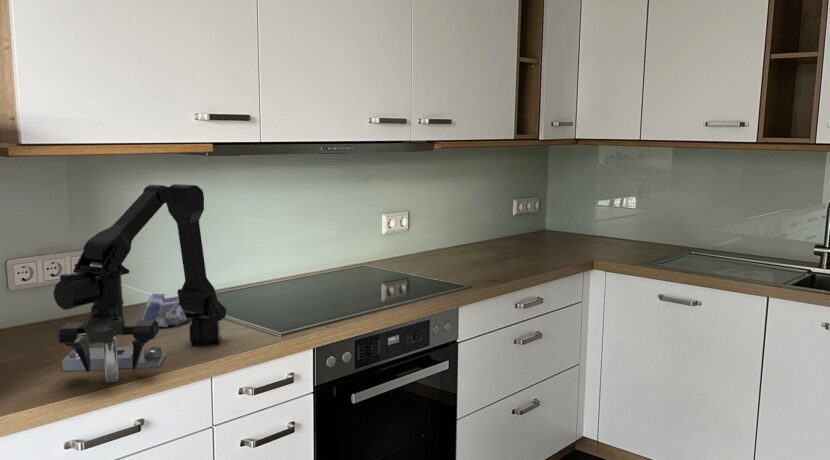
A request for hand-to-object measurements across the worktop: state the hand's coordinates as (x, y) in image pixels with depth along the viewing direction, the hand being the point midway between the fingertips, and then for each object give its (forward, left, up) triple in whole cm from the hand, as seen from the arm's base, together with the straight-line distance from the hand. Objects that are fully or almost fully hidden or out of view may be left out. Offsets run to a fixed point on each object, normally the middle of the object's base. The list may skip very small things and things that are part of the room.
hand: (111, 370), depth 147 cm
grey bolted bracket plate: (+2, -11, -2) cm, 11 cm away
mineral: (-3, -42, -2) cm, 42 cm away
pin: (0, 0, -2) cm, 2 cm away
